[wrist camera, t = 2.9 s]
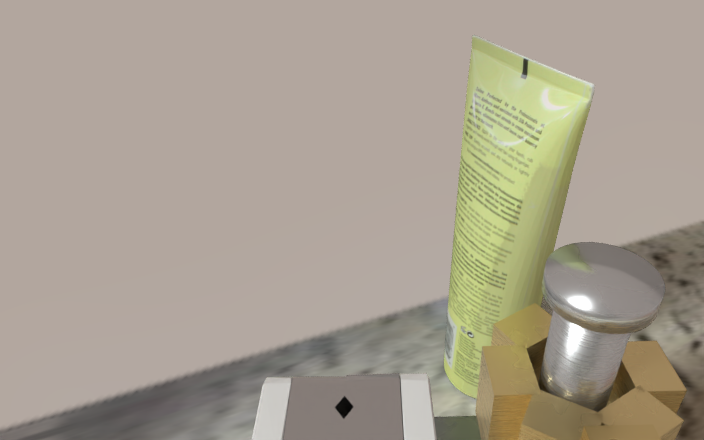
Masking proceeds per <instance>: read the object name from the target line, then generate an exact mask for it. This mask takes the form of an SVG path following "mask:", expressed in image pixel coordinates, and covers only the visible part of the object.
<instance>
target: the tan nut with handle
mask: <svg viewBox="0 0 704 440" xmlns="http://www.w3.org/2000/svg"><path fill="white" fill-rule="evenodd" d="M551 318H552V316H551V315H550V314H549V313H547V312H546V311H545V310H544V309H542V308H541V307H540V306H538V305H537V304H536V303H534V304H532V305H530V306H528V307H526V308H524V309H522V310H520V311H518V312H516V313H514V314H512V315H510V316H508V317H506V318H504V319H502V320H500V321H498V322H496V323H494V324H493V333H492V341H491V346H482V353H481V363H480V372H479V382H478V392H477V401H476V416H477V421H478V426H479V431H480V436H481V440H675V438H676V436H677V434H678V432H679V430H680V428H681V426H682V423H683V421H684V420H683V419H682V418H680V417H679V416H678V415H677V414H676V413H677V411H678V409H679V407H680V404H681V402H682V400H683V398H684V396H685V394H686V391H687V390H686V388H685V386H684V385H683V383H682V381H681V380H680V378H679V377H678V375H677V373H676V372H675V370H674V368H673V367H672V365H671V363H670V362H669V360H668V359H667V357H666V355H665V354H664V352H663V350H662V349H661V347H660V345H659V344H658V342H657V341H634V342H628V343H627V346H626V349H625V352H624V355H623V358H622V361H621V364H620V367H619V370H618V373H617V376H616V379H615V382H614V385H613V388H612V391H611V394H610V397H609V400H608V403H607V406H606V407H605V408H603V409H602V410H600V411H599V412H596V411H594V410H591V409H588V408H586V407H583V406H581V405H578V404H575V403H573V402H570V401H568V400H565V399H563V398H560V397H557V396H555V395H552V394H550V393H547V392H544V391H542V390H540V388H539V385H538V381H539V376H540V372H541V367H542V362H543V357H544V352H545V347H546V342H547V338H548V333H549V328H550V323H551Z"/></svg>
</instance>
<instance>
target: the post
mask: <svg viewBox="0 0 704 440" xmlns="http://www.w3.org/2000/svg"><path fill="white" fill-rule="evenodd" d="M542 292H543V296H544V298H545V300H546V302H547V303H548V304H549V306H550V307H551V308H552V309H553V313H552V318H551V323H550V328H549V333H548V338H547V342H546V347H545V352H544V357H543V362H542V367H541V372H540V376H539V381H538V385H539V388H540V390H542V391H544V392H547V393H550V394H552V395H555V396H557V397H560V398H563V399H565V400H568V401H570V402H573V403H575V404H578V405H581V406H583V407H586V408H588V409H591V410H594V411H596V412H599V411H600V410H602V409H603V408H605V407H606V406H607V403H608V400H609V397H610V394H611V391H612V388H613V385H614V382H615V379H616V376H617V373H618V370H619V367H620V364H621V361H622V358H623V355H624V352H625V349H626V346H627V343H628V340H629V337H630V334H631V333H632V332H636V331H639V330H642V329H644V328H646V327H647V326H649V325H650V324H651V323H652V322H653V321H654V320H655V318H656V316H657V313H658V311H659V308H660V305H661V302H662V300H663V297H664V294H665V283H664V280H663V278H662V276H661V275H660V273H659V272H658V271H657V269H656V268H655V267H654V266H653V265H652V264H650V263H649V262H648V261H647V260H645V259H644V258H642V257H640V256H639V255H637V254H635V253H633V252H631V251H628V250H626V249H623V248H620V247H617V246H613V245H608V244H603V243H595V242H581V243H573V244H569V245H566V246H563V247H560V248H559V249H557V250H555V251H554V252H553V253H551V255H550V256H549V257H548V259H547V261H546V264H545V269H544V275H543V280H542ZM434 421H435V429H436V437H437V440H481V436H480V431H479V426H478V421H477V416H457V417H434Z"/></svg>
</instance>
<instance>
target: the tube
mask: <svg viewBox="0 0 704 440" xmlns="http://www.w3.org/2000/svg"><path fill="white" fill-rule="evenodd" d="M594 89H595V85H594V84H592V83H589V82H587V81H584V80H581V79H579V78H576V77H573V76H571V75H568V74H566V73H563V72H561V71H559V70H556V69H554V68H552V67H549V66H547V65H544V64H542V63H539V62H537V61H534V60H531V59H529V58H527V57H525V56H522V55H520V54H517V53H515V52H513V51H511V50H509V49H506V48H504V47H501V46H499V45H497V44H495V43H492V42H490V41H488V40H485V39H483V38H481V37H479V36H476V35H473V36H472V51H471V59H470V67H469V76H468V85H467V95H466V106H465V117H464V128H463V138H462V150H461V161H460V172H459V183H458V194H457V195H458V196H457V206H456V207H457V208H456V218H455V229H454V241H453V252H452V264H451V276H450V289H449V300H448V312H447V325H446V338H445V352H444V368H445V372H446V374H447V376H448V378H449V380H450V381H451V382H452V384H453V385H454V386H455V387H456V388H457V389H458V390H460V391H461V392H462V393H464V394H466V395H468V396H470V397H473V398H476V399H477V392H478V382H479V372H480V363H481V353H482V346H491V341H492V333H493V324H494V323H496V322H498V321H500V320H502V319H504V318H506V317H508V316H510V315H512V314H514V313H516V312H518V311H520V310H522V309H524V308H526V307H528V306H530V305H532V304H534V303H536V304H537V305H538V306H540V307H541V303H542V298H543V292H542V280H543V275H544V269H545V264H546V261H547V259H548V257H549V256H550V255H551V253H553V251H554V246H555V242H556V238H557V234H558V230H559V225H560V221H561V217H562V213H563V209H564V205H565V201H566V197H567V192H568V188H569V184H570V179H571V175H572V171H573V167H574V164H575V160H576V156H577V152H578V148H579V145H580V141H581V137H582V134H583V131H584V127H585V124H586V120H587V117H588V113H589V110H590V106H591V102H592V98H593V95H594Z"/></svg>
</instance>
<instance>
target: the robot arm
mask: <svg viewBox="0 0 704 440" xmlns="http://www.w3.org/2000/svg"><path fill="white" fill-rule="evenodd" d="M252 440H437V437H436V429H435V421H434V413H433V405H432V397H431V389H430V381H429V377H428V374H427V373H412V374H400V376H399V373H393V374H369V375H346V377H266V380H265V382H264V384H263V386H262V391H261V396H260V401H259V406H258V411H257V416H256V421H255V426H254V431H253V435H252Z"/></svg>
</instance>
